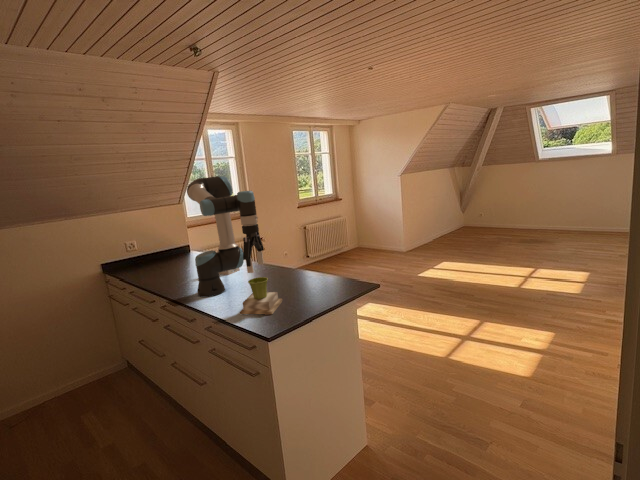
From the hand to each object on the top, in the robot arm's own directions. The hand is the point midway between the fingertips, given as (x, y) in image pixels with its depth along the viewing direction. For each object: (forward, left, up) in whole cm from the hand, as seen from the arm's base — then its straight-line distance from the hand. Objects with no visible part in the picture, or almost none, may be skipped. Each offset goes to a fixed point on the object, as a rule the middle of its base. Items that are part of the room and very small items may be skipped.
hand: (256, 268), depth 173 cm
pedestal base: (0, 0, -20) cm, 20 cm away
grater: (-48, +65, -20) cm, 83 cm away
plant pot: (0, 0, -15) cm, 15 cm away
